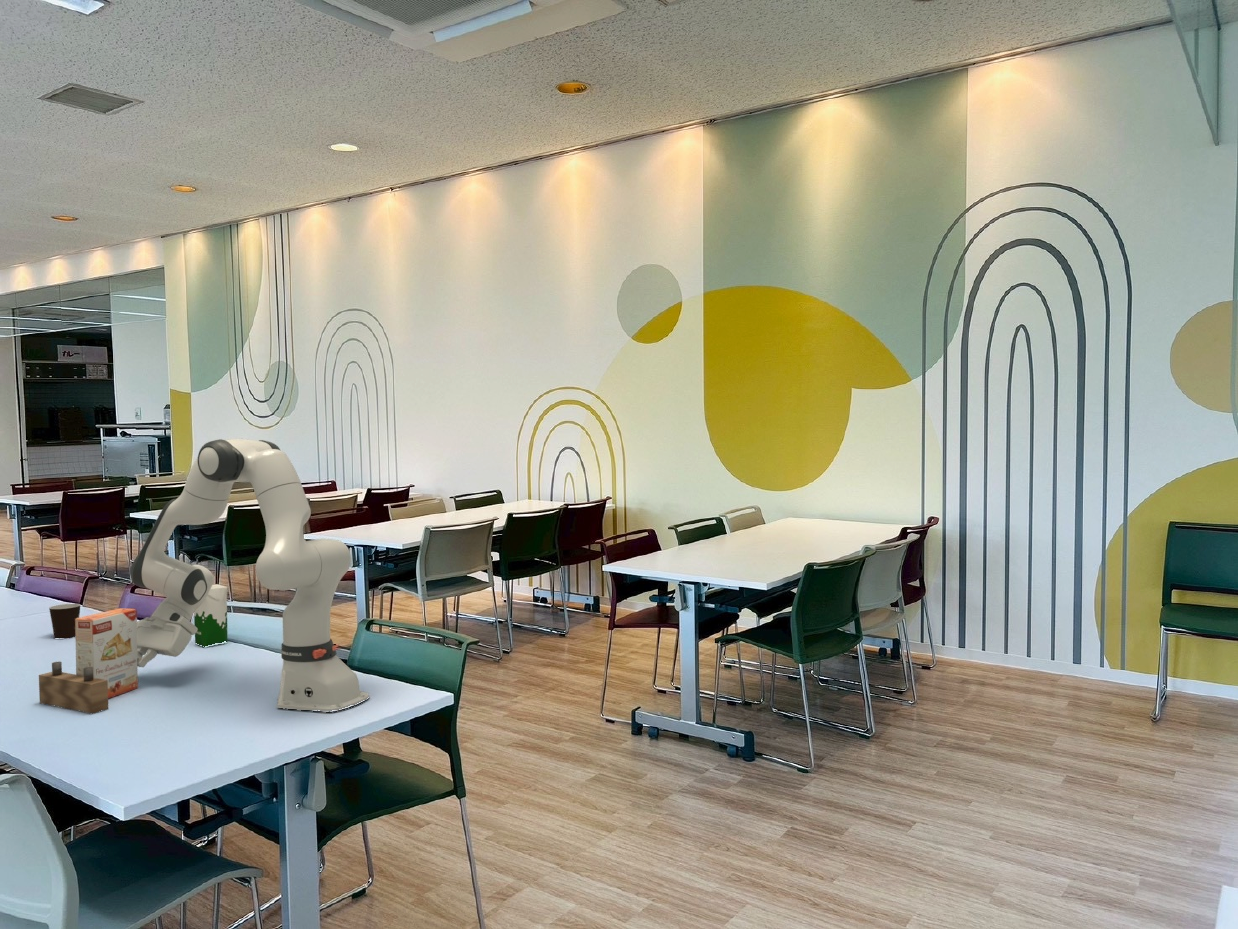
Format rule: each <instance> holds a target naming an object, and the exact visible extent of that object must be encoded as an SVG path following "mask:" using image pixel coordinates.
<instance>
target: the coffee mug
mask: <svg viewBox="0 0 1238 929" xmlns="http://www.w3.org/2000/svg"><path fill="white" fill-rule="evenodd" d="M80 613H81V604H80V603H64V604H63V603H62V604H56V605H52V606H49V615H50V619H51V626H52V632H53V638H54V639H55V638H69V639H73V638H72V637H74V638H76V637H75V619H77V618H80Z"/></svg>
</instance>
